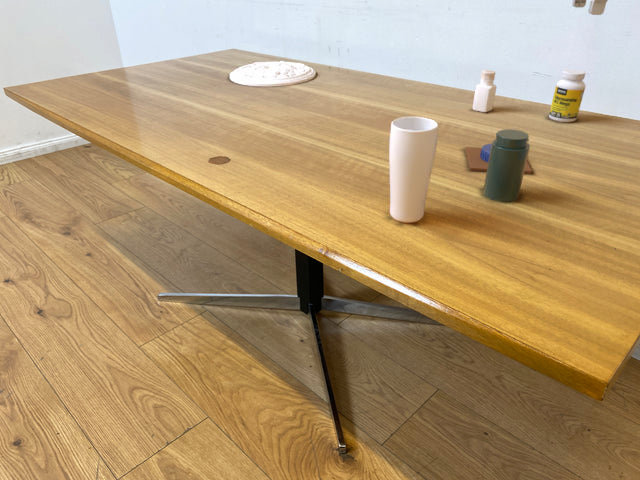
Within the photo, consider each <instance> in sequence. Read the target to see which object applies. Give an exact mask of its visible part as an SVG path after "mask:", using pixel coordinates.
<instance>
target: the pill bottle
mask: <svg viewBox="0 0 640 480" xmlns="http://www.w3.org/2000/svg"><path fill="white" fill-rule="evenodd" d="M585 77H586V71H584V70H582V69H575V68H574V69H572V68H571V69H570V68H568V69H563V70H562V74H561V78H562V79H560V80H558V81H557V83H556V85H555V89H554V93H553V96H552V101H551V105H550V108H549V113H548V117H549V119H550V120H552V121H555V122H560V123H572V122H575V121H576V120H577V119H578V115H579V112H580V108H581V104H582V101H583V97H584V95H585V94H584V93H585V91H586V83H585V82H584V81H583V80H584V79H585Z"/></svg>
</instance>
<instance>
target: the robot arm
mask: <svg viewBox="0 0 640 480" xmlns="http://www.w3.org/2000/svg"><path fill="white" fill-rule="evenodd" d="M608 1H609V0H590V3H589V8H588V11H587V12H588V13H589V15H592V16H601V15H603V14H604V12H605V9H606V5H607V2H608ZM586 5H587V0H572V2H571V6H572V7H574V8H584V7H585V6H586Z"/></svg>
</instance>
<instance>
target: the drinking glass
mask: <svg viewBox="0 0 640 480" xmlns="http://www.w3.org/2000/svg"><path fill="white" fill-rule="evenodd" d="M438 136H439V124H438V122H436V120H434V119H431V118H429V117H423V116H402V117H397V118H395V119H394V120H392V121H391V123H390V131H389V141H388V142H389V143H388V166H389V215H390V217H391V218H392V219H393V220H395V221H396V222H399V223H400V222H401V223H404V224H411V223H416V222H419V221H421V220H422V219H423V217H424V215H425V209H426V208H425V207H426V203H427V197H428V193H429V191H428V190H429V187H430V182H431V177H432V172H433V168H434V163H435V159H436V154H437V153H436V152H437V145H438Z"/></svg>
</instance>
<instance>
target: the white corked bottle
mask: <svg viewBox="0 0 640 480" xmlns="http://www.w3.org/2000/svg"><path fill="white" fill-rule="evenodd" d="M495 79H496V71H495V70H491V69H485V70H482V71H481V73H480V83H478V84H476V86H475V90H474V96H473V102H472V110H473V111H477V112H481V113H487V112H490V111H492V110H493V109H494V103H495V99H496V98H495V97H496V92H497V85H496V84H494V81H495Z"/></svg>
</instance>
